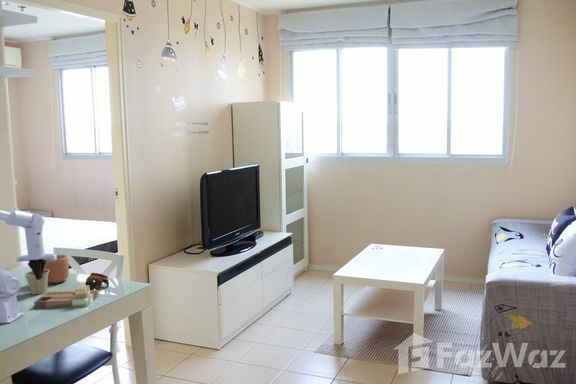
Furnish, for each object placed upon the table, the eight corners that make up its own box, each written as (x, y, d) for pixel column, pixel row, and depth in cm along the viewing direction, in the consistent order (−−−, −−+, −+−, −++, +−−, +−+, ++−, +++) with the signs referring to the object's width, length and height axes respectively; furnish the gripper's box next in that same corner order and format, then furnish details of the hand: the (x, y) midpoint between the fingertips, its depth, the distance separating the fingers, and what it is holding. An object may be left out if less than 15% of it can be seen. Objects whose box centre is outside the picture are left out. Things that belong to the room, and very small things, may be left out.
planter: (48, 278, 242) (45, 255, 241) (74, 277, 241) (72, 254, 240) (34, 286, 230) (31, 262, 228) (62, 285, 229) (59, 261, 228)
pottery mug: (79, 291, 222) (85, 272, 224) (101, 297, 226) (107, 278, 229) (87, 290, 212) (94, 270, 215) (110, 296, 217) (116, 276, 220)
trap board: (87, 306, 200) (86, 299, 200) (34, 308, 201) (34, 301, 200) (98, 296, 212) (98, 289, 212) (49, 297, 213) (48, 291, 212)
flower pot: (41, 296, 215) (39, 275, 214) (21, 295, 217) (19, 275, 216) (56, 289, 224) (54, 269, 223) (36, 288, 226) (34, 269, 225)
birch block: (86, 298, 201) (85, 288, 201) (75, 299, 202) (74, 288, 201) (90, 295, 205) (89, 285, 205) (79, 295, 205) (79, 285, 205)
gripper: (58, 240, 205) (62, 274, 207) (21, 242, 205) (25, 276, 207) (50, 245, 198) (54, 280, 200) (12, 247, 198) (16, 282, 200)
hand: (39, 278), depth 203 cm, fingers closed
